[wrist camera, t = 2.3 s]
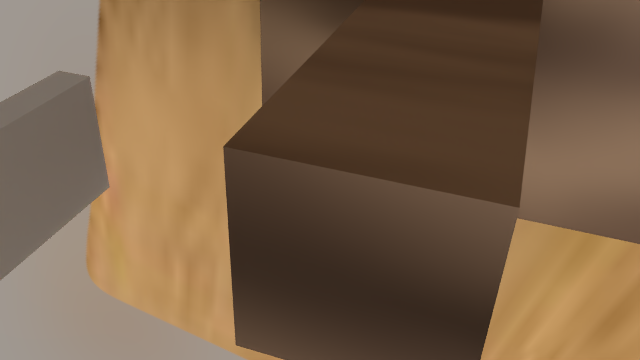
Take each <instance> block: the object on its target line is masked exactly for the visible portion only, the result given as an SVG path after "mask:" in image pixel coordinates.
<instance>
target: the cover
mask: <svg viewBox="0 0 640 360" xmlns="http://www.w3.org/2000/svg"><path fill="white" fill-rule="evenodd" d="M260 21H261V67H262V107H261V108H260V109H259V110H258V111H257V112H256V113H255V114H254V115H253V116H252V117H251V118H250V120H249V121H248V122H247V123H246V124H245V125H244V126H243V127H242V128H241V129H240V130H239V131H238V132H237V133H236V134H235V135H234V136H233V137H232V138H231V139H230V140H229V141H228V142H227V143H226V144H225V145H224V146H223V148H224V164H225V180H226V196H227V212H228V228H229V244H230V260H231V276H232V292H233V308H234V324H235V340H236V345H237V346H241V347H244V348H247V349H251V350H254V351H257V352H261V353H264V354H268V355H271V356H274V357H278V358H281V359H284V360H480V359H481V355H482V351H483V347H484V343H485V339H486V336H487V332H488V328H489V324H490V320H491V316H492V312H493V309H494V305H495V301H496V297H497V293H498V289H499V285H500V281H501V278H502V274H503V270H504V266H505V262H506V258H507V254H508V251H509V247H510V243H511V239H512V235H513V231H514V227H515V223H516V220H517V218H519V219H524V220H529V221H533V222H538V223H543V224H548V225H552V226H557V227H562V228H567V229H571V230H576V231H581V232H585V233H590V234H595V235H600V236H604V237H609V238H614V239H619V240H623V241H628V242H633V243H637V244H640V0H260Z"/></svg>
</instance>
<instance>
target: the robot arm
mask: <svg viewBox="0 0 640 360" xmlns="http://www.w3.org/2000/svg"><path fill="white" fill-rule="evenodd" d="M108 188H109V182H108V176H107V170H106V165H105V159H104V154H103V148H102V143H101V137H100V132H99V126H98V121H97V115H96V109H95V104H94V98H93V93H92V87H91V82H90V77H89V76H84V75H79V74H73V73H68V72H62V71H58V72H56V73H54V74H52V75H50V76H48V77H47V78H45V79H43V80H41V81H39V82H37V83H35V84H33V85H32V86H30V87H28V88H26V89H24V90H22V91H20V92H19V93H17V94H15V95H13V96H11V97H9V98H8V99H6V100H4V101H2V102H0V280H1V279H3V278H4V277H5V276H6V275H7V274H8V273H9V272H11V271H12V270H13V269H14V268H15V267H17V266H18V265H19V264H20V263H21V262H22V261H24V260H25V259H26V258H27V257H28V256H29V255H31V254H32V253H33V252H34V251H35V250H36V249H37V248H39V247H40V246H41V245H42V244H43V243H45V242H46V241H47V240H48V239H49V238H50V237H52V235H54V234H55V233H56V232H57V231H59V230H60V229H61V228H62V227H63V226H64V225H66V224H67V223H68V222H69V221H70V220H71V219H73V218H74V217H75V216H76V215H77V214H78V213H80V212H81V211H82V210H83V209H84V208H85V207H87V206H88V205H89V204H90V203H91V202H92V201H94V200H95V199H96V198H97V197H98V196H99V195H101V194H102V193H103V192H104V191H105V190H107V189H108Z"/></svg>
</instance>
